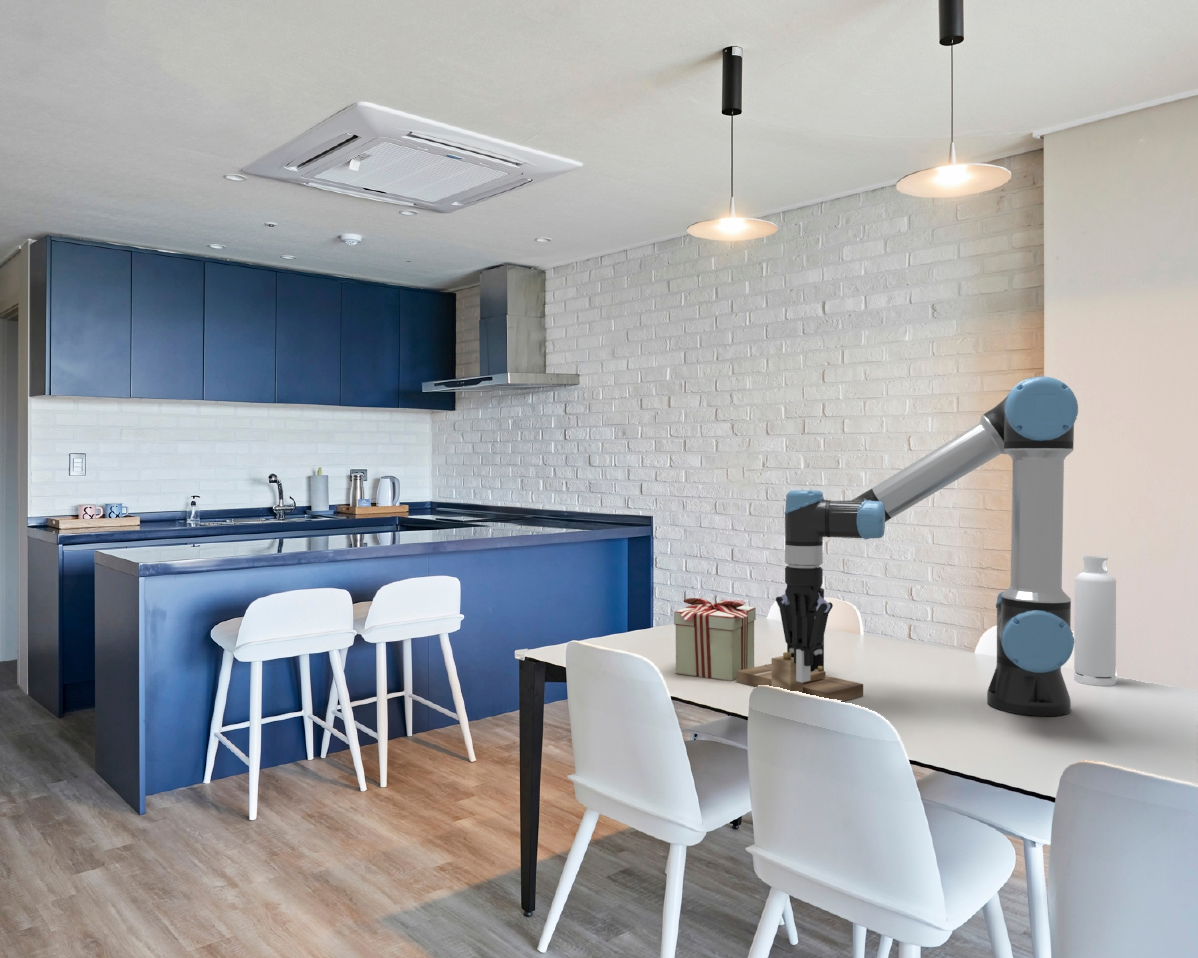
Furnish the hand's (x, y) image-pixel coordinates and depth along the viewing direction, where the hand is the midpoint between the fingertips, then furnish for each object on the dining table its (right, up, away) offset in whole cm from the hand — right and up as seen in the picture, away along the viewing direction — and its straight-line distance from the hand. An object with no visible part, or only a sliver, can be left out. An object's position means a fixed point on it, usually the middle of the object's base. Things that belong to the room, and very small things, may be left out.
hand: (803, 680), depth 182 cm
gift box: (-14, -5, +27) cm, 31 cm away
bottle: (+69, -4, +18) cm, 72 cm away
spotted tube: (+6, -5, +25) cm, 26 cm away
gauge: (+1, -4, +6) cm, 8 cm away
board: (+2, -4, +12) cm, 13 cm away
